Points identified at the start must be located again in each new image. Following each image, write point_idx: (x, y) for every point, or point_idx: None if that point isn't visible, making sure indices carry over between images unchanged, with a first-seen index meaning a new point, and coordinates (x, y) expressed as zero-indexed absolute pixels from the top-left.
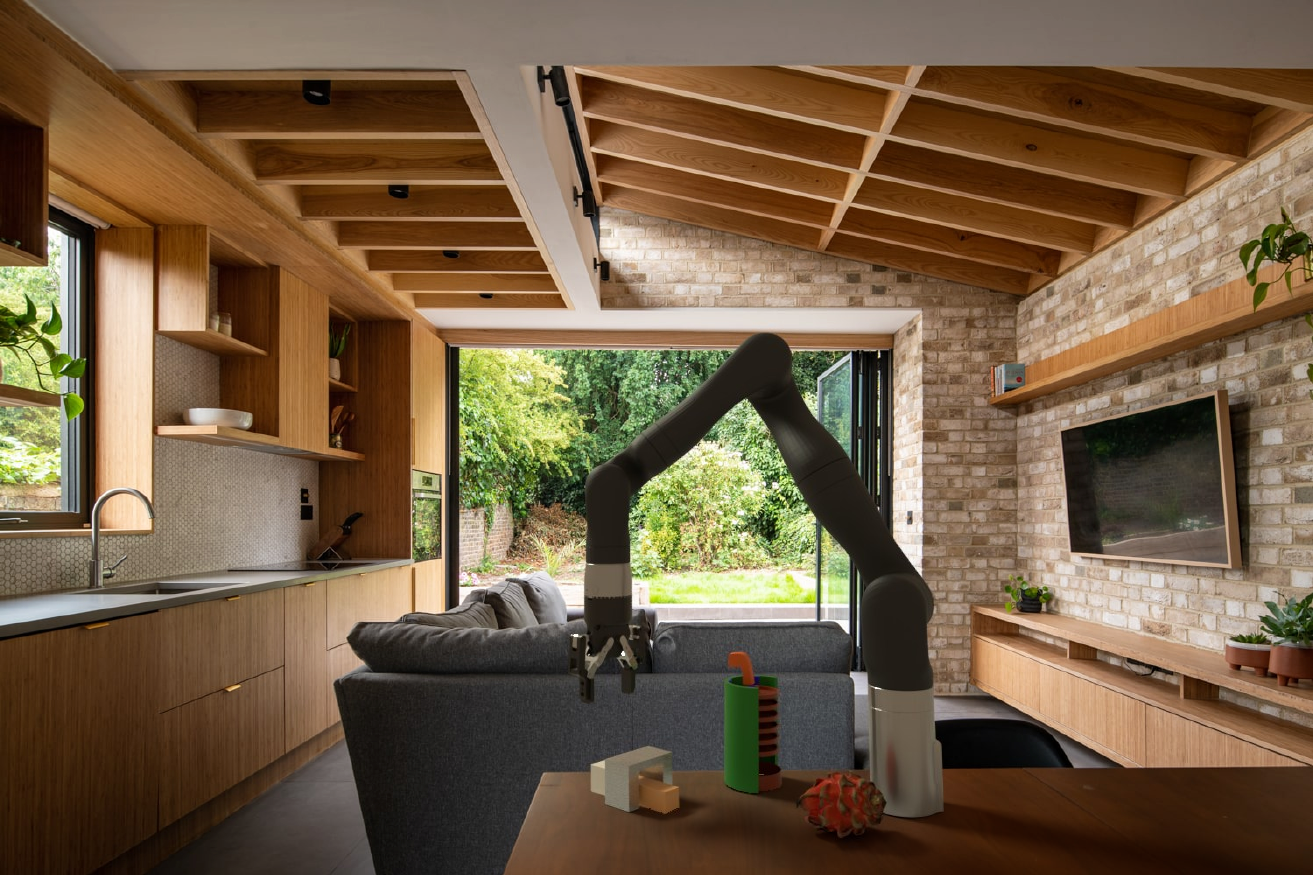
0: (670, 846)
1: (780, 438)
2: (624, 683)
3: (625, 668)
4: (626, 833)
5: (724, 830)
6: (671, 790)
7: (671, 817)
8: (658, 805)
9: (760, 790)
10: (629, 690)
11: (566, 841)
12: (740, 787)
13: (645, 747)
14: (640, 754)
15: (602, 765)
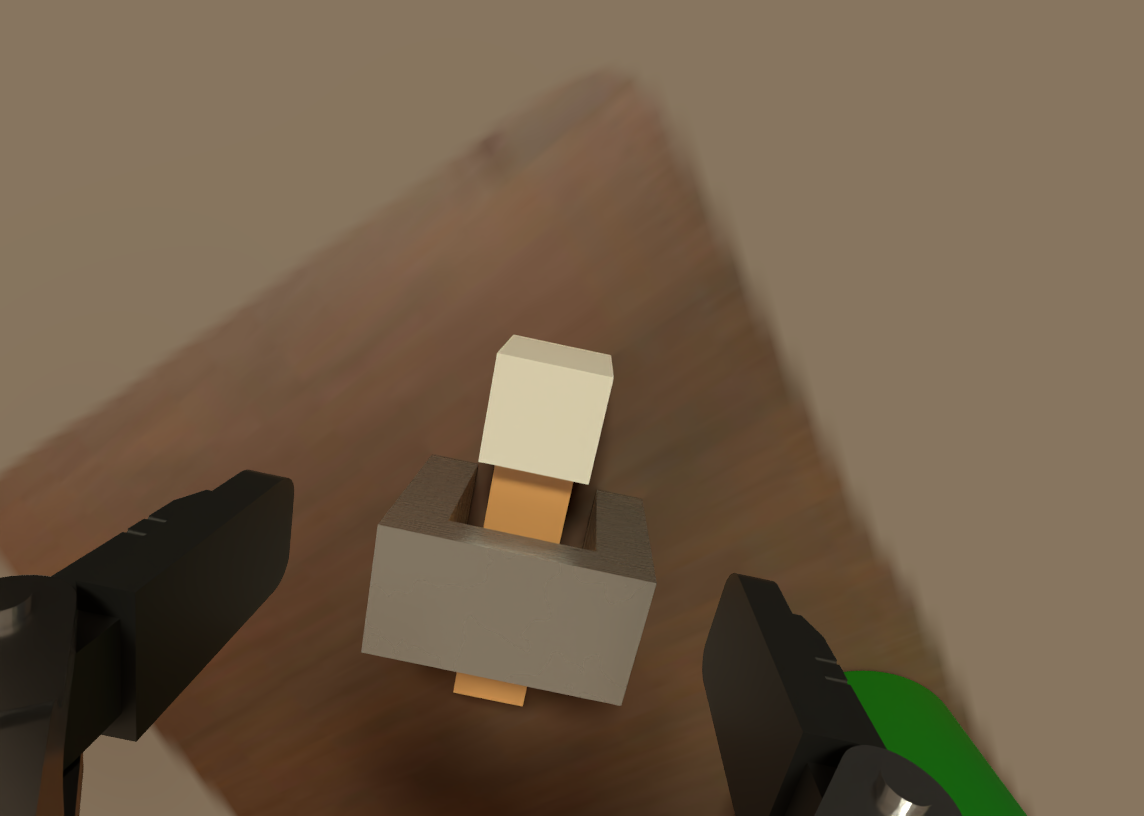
0: (287, 749)
1: None
2: (743, 651)
3: (798, 795)
4: (283, 627)
5: (451, 809)
6: (486, 696)
7: (453, 671)
8: None
9: None
10: (709, 669)
11: (134, 524)
12: None
13: (626, 585)
14: (522, 616)
15: (514, 405)
